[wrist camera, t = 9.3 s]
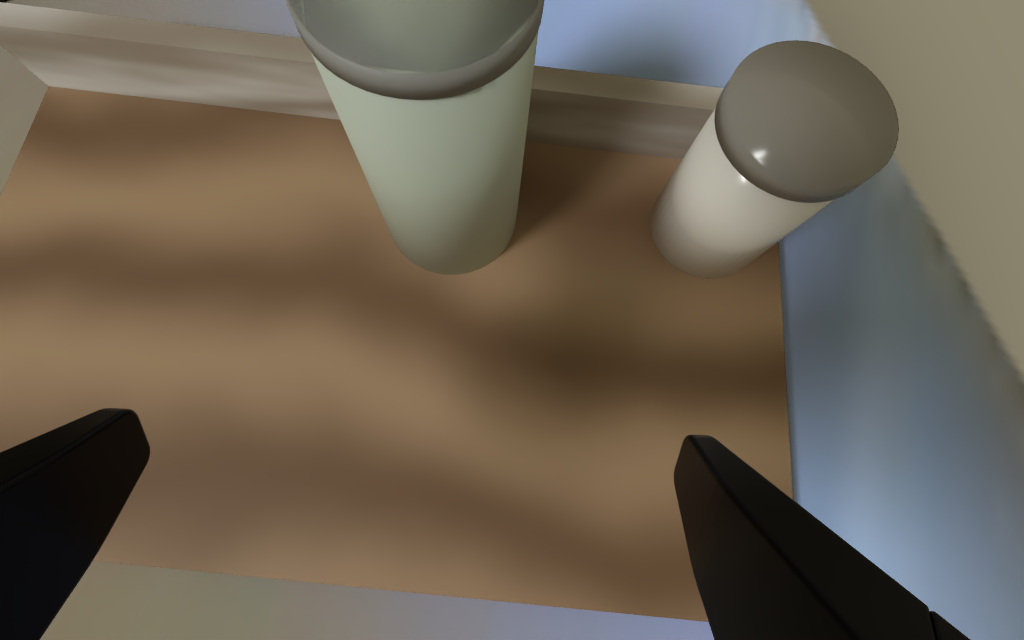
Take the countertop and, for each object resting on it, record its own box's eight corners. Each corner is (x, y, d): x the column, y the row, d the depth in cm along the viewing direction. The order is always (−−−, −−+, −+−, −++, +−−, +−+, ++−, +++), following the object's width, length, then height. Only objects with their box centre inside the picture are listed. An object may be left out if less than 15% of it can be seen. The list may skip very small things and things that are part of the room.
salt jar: (763, 287, 19) (909, 196, 12) (645, 274, 19) (729, 176, 12) (758, 183, 20) (888, 51, 14) (648, 170, 20) (725, 31, 14)
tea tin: (510, 283, 18) (535, 91, 9) (376, 268, 18) (252, 59, 9) (523, 165, 20) (555, -110, 10) (398, 151, 20) (312, -139, 10)
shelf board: (786, 622, 16) (870, 669, 13) (-119, 532, 16) (-301, 555, 12) (763, 160, 21) (819, 99, 18) (73, 80, 21) (-15, 0, 17)
